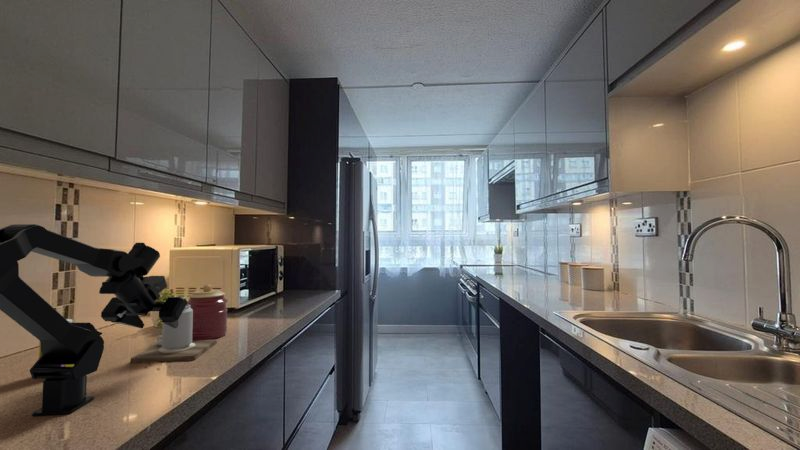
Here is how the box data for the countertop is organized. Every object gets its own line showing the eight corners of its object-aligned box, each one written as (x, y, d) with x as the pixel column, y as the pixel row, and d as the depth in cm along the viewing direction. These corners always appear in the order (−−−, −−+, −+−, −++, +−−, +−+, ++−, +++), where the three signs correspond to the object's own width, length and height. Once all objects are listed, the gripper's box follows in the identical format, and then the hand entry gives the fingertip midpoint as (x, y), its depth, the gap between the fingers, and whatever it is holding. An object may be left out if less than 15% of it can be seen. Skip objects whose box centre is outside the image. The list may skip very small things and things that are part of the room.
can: (185, 350, 99) (186, 307, 100) (156, 351, 98) (157, 308, 99) (196, 342, 107) (197, 302, 107) (169, 343, 106) (170, 303, 106)
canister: (200, 343, 112) (201, 287, 113) (175, 338, 117) (176, 285, 118) (235, 333, 123) (236, 283, 124) (210, 329, 129) (212, 281, 130)
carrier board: (194, 359, 96) (194, 349, 96) (130, 362, 93) (130, 352, 94) (217, 342, 112) (217, 334, 112) (163, 345, 110) (163, 336, 110)
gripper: (184, 265, 91) (206, 302, 101) (112, 266, 91) (141, 302, 101) (162, 301, 82) (189, 336, 93) (83, 301, 82) (118, 337, 93)
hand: (159, 326), depth 95 cm, fingers open, 9 cm apart
